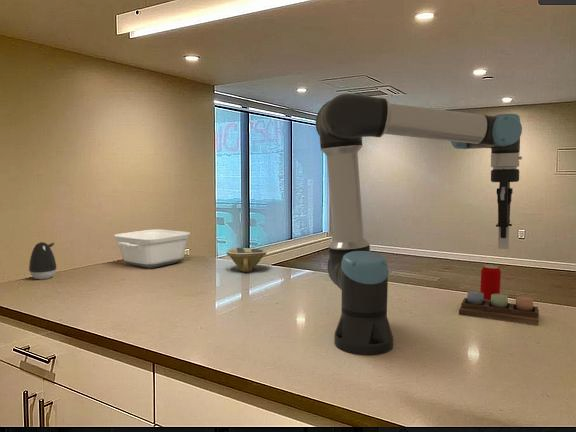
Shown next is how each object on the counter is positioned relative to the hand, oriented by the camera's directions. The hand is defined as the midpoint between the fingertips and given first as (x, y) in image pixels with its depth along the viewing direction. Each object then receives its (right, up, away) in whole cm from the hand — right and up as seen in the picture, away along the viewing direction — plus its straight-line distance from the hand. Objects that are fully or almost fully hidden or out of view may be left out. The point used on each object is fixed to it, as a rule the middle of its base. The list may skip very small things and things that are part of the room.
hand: (503, 248), depth 137 cm
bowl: (-82, -15, +72) cm, 110 cm away
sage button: (+2, -18, +8) cm, 20 cm away
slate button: (-4, -18, +11) cm, 22 cm away
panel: (+2, -21, +8) cm, 23 cm away
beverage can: (+6, -20, +24) cm, 32 cm away
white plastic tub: (-129, -14, +87) cm, 156 cm away
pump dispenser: (-167, -17, +58) cm, 177 cm away
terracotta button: (+8, -19, +5) cm, 21 cm away
